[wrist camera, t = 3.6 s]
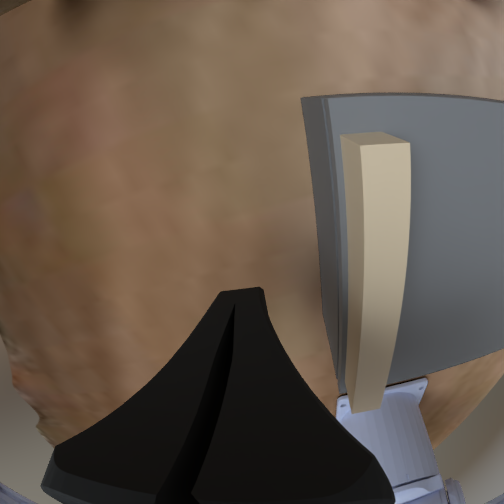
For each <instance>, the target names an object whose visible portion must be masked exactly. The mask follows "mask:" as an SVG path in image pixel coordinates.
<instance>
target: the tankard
mask: <svg viewBox="0 0 504 504" xmlns="http://www.w3.org/2000/svg"><path fill="white" fill-rule="evenodd" d="M28 1H31V0H0V16H1V15H3V14H4V13H6V12H8V11H10V10H12V9H14V8H16V7H18V6H20V5H22V4H24V3H26V2H28Z"/></svg>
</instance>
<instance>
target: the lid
mask: <svg viewBox="0 0 504 504" xmlns="http://www.w3.org/2000/svg"><path fill="white" fill-rule="evenodd" d="M323 99H324V106H325V113H326V121H327V128H328V136H329V145H330V154H331V163H332V173H333V184H334V196H335V210H336V225H337V243H338V269H339V362H338V389H339V394H341V393H347V394H348V399H349V404H350V408H351V413H352V414H355V413H360V412H365V411H370V410H375V409H380V406H381V403H382V399H383V395H384V391H385V388H386V385H387V384H391V383H396V382H400V381H404V380H408V379H412V378H416V377H419V376H423V375H427V374H430V373H434V372H437V371H440V370H444V369H447V368H450V367H453V366H456V365H459V364H462V363H465V362H468V361H471V360H474V359H477V358H480V357H482V356H485V355H488V354H490V353H493V352H495V351H498V350H500V349H503V348H504V103H498V102H491V101H483V100H475V99H465V98H453V97H438V96H412V95H378V96H351V97H335V98H323Z"/></svg>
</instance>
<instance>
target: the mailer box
mask: <svg viewBox="0 0 504 504" xmlns="http://www.w3.org/2000/svg"><path fill="white" fill-rule="evenodd" d="M378 95H412V96H438V97H453V98H465V99H475V100H483V101H491V102H498V103H504V101H500V100H493V99H486V98H478V97H469V96H459V95H446V94H430V93H355V94H337V95H324V96H313V97H303V98H301V104H302V110H303V117H304V123H305V130H306V137H307V145H308V152H309V160H310V168H311V176H312V185H313V194H314V203H315V213H316V224H317V235H318V247H319V260H320V274H321V291H322V310H323V317H324V321H325V326H326V330H327V335H328V340H329V344H330V349H331V354H332V358H333V363H334V368H335V373H336V378H337V379H338V362H339V269H338V243H337V225H336V210H335V196H334V184H333V173H332V163H331V154H330V145H329V136H328V128H327V121H326V113H325V106H324V99H323V98H335V97H351V96H378Z"/></svg>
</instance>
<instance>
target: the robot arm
mask: <svg viewBox="0 0 504 504" xmlns="http://www.w3.org/2000/svg"><path fill="white" fill-rule="evenodd" d="M427 384H428V380H427V378H421V379H418V380H414V381H410V382H406V383H402V384H398V385H394V386H390V387H386V388H385V391H384V395H383V399H382V403H381V406H380V409H375V410H370V411H365V412H360V413H355V414H352V413H351V408H350V404H349V399H348V395H345V396H341V397H339V398H338V399H337V410H336V418H335V417H334V416H333V415H332V414H331V413H330V412H329V410H328V409H327V408H326V407H325V406H324V404H323V403H322V402H321V401H320V400H319V399H318V397H317V396H316V395H315V394H314V393H313V391H312V390H311V389H310V388H309V386H308V385H307V383H306V382H305V381H304V379H303V378H302V377H301V375H300V374H299V372H298V371H297V369H296V368H295V366H294V365H293V363H292V361H291V360H290V358H289V357H288V355H287V353H286V351H285V350H284V348H283V346H282V344H281V342H280V340H279V338H278V336H277V334H276V332H275V330H274V328H273V326H272V323H271V321H270V319H269V316H268V311H267V306H266V301H265V295H264V290H263V289H262V288H260V287H254V288H246V289H238V290H229V291H221V292H220V293H219V294H218V296H217V297H216V299H215V300H214V301H213V303H212V304H211V306H210V307H209V309H208V310H207V312H206V313H205V315H204V316H203V318H202V319H201V321H200V322H199V323H198V325H197V326H196V328H195V329H194V330H193V332H192V333H191V334H190V336H189V337H188V338H187V340H186V341H185V342H184V343H183V345H182V346H181V347H180V348H179V350H178V351H177V352H176V353H175V354H174V356H173V357H172V358H171V359H170V360H169V362H168V363H167V364H166V365H165V366H164V367H163V368H162V369H161V370H160V371H159V372H158V373H157V374H156V375H155V376H154V377H153V378H152V379H151V380H150V381H149V382H148V383H147V384H146V385H145V386H144V387H143V388H142V389H140V390H139V391H138V392H137V393H136V394H134V395H133V396H132V397H131V398H130V399H129V400H127V401H126V402H125V403H124V404H123V405H121V406H120V407H119V408H117V409H116V410H115V411H113V412H112V413H111V414H109V415H108V416H106V417H105V418H103V419H102V420H100V421H99V422H97V423H96V424H94V425H93V426H91V427H90V428H88V429H86V430H85V431H83V432H81V433H79V434H77V435H76V436H74V437H72V438H70V439H68V440H66V441H65V442H63V443H61V444H59V445H57V446H55V449H54V451H53V454H52V456H51V459H50V461H49V464H48V467H47V470H46V472H45V475H44V478H43V480H42V483H41V488H42V490H43V491H44V492H45V493H46V494H48V495H49V496H51V497H52V498H54V499H56V500H57V501H59V502H61V503H63V504H466V503H465V498H464V495H463V491H462V488H461V485H460V482H459V481H458V480H453V479H452V478H449V479H447V480H445V483H446V487H447V495H448V499H449V503H448V500H447V496H446V491H445V487H444V484H443V480H442V477H441V474H440V473H439V470H438V466H437V462H436V459H435V455H434V452H433V449H432V445H431V442H430V439H429V436H428V433H427V430H426V427H425V424H424V421H423V418H422V415H421V412H420V409H419V403H420V401H421V399H422V396H423V394H424V391H425V389H426V387H427ZM0 504H37V503H35V502H33V501H31V500H29V499H28V498H26V497H24V496H22V495H20V494H19V493H17V492H15V491H14V490H12V489H10V488H8V487H7V486H5V485H3V484H2V483H0ZM485 504H504V493H503V494H502V495H500V496H498V497H496V498H494V499H493V500H491V501H489V502H487V503H485Z"/></svg>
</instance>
